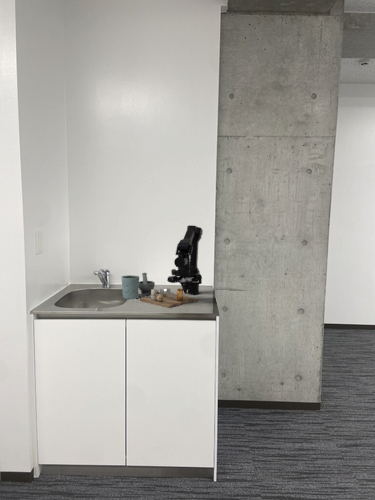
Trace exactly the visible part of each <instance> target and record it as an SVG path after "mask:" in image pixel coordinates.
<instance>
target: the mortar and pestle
mask: <svg viewBox="0 0 375 500" xmlns="http://www.w3.org/2000/svg"><path fill="white" fill-rule="evenodd" d="M147 273H148V272H142V274H141V276H142V280H139V288H138V290H140V294H141V295H142V296H151V289H155V284H156V283H155V281H153V280H148V276H147Z"/></svg>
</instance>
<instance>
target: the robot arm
mask: <svg viewBox="0 0 375 500" xmlns="http://www.w3.org/2000/svg"><path fill="white" fill-rule="evenodd" d="M203 233H204V232H203V228H202V227H199V226H197V225H194V224H193V225H187V228H186V232H185V234H184V236H183V238H182V239H180V241H178V243H177V246H176V250H175V256H177V257H176V258H175V259H174V261H173V262H174V266H175V268H177V270H176V269H175V268H173V269H171V271H170V272H171V275H169V276H168V277H167V282H168V283H171V284H175V283H179V284H180V285H181V289H183V295H184V294H185V295H186V294H189V295H193V296H195V295H196V296H197V295H198V294H201V293H202V292H200V291H199V290H200V285H202V282H203V281H202V280H203V275H202V274H201V272H200V269H199V267H198V260H199V259H198V258H199V243H200V241H201V239H202V236H203Z"/></svg>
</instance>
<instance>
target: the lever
mask: <svg viewBox="0 0 375 500" xmlns="http://www.w3.org/2000/svg"><path fill="white" fill-rule="evenodd" d="M159 294H161V295H163V296H167V297H170V298H173V299H176V300H178V301H182V300H183V295H184V291H183V288H176V291H172V290H171V288H169V287H163V288H160V290H159Z"/></svg>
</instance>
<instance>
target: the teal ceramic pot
mask: <svg viewBox="0 0 375 500" xmlns="http://www.w3.org/2000/svg"><path fill="white" fill-rule="evenodd" d="M139 282H140V275H131V274H130V275H127V274H126V275H122V276H121V288H122V298H123V299H125V300H135V299H136V300H137V299H138V298H139Z"/></svg>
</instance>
